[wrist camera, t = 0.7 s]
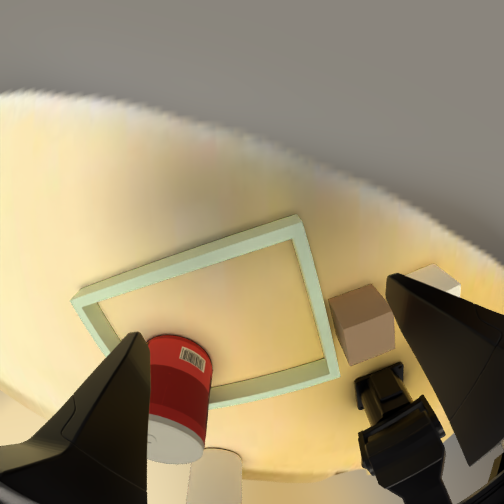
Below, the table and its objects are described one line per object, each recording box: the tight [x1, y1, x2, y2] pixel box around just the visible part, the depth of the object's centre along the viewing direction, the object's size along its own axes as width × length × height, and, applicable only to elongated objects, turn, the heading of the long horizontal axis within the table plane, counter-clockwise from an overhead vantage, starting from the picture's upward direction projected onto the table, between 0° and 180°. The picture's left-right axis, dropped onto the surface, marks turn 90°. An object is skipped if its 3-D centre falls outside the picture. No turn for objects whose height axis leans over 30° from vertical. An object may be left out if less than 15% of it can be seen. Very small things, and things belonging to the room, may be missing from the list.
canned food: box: [147, 335, 213, 464], centre depth 23 cm, size 8×8×11 cm
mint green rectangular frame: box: [70, 214, 341, 410], centre depth 26 cm, size 17×22×2 cm
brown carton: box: [328, 284, 395, 366], centre depth 24 cm, size 4×4×5 cm
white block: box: [405, 263, 461, 297], centre depth 24 cm, size 4×4×5 cm
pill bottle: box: [186, 449, 242, 504], centre depth 29 cm, size 8×8×15 cm
